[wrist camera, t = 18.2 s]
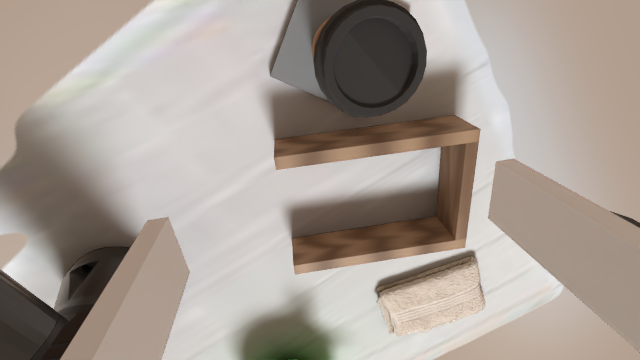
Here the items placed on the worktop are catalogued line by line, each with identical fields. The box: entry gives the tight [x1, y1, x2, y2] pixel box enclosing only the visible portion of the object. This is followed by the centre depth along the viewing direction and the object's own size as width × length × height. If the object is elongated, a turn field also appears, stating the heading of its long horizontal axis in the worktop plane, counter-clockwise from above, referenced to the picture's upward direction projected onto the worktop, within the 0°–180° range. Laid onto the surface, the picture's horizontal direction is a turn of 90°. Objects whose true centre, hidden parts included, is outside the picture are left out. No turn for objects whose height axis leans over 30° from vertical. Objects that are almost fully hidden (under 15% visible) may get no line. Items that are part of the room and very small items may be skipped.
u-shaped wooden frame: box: [274, 115, 480, 274], centre depth 42 cm, size 24×17×6 cm
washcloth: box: [376, 256, 485, 336], centre depth 55 cm, size 12×18×3 cm, turn 110°
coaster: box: [270, 0, 356, 102], centre depth 36 cm, size 12×12×1 cm
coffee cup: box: [312, 0, 427, 117], centre depth 29 cm, size 8×8×15 cm
